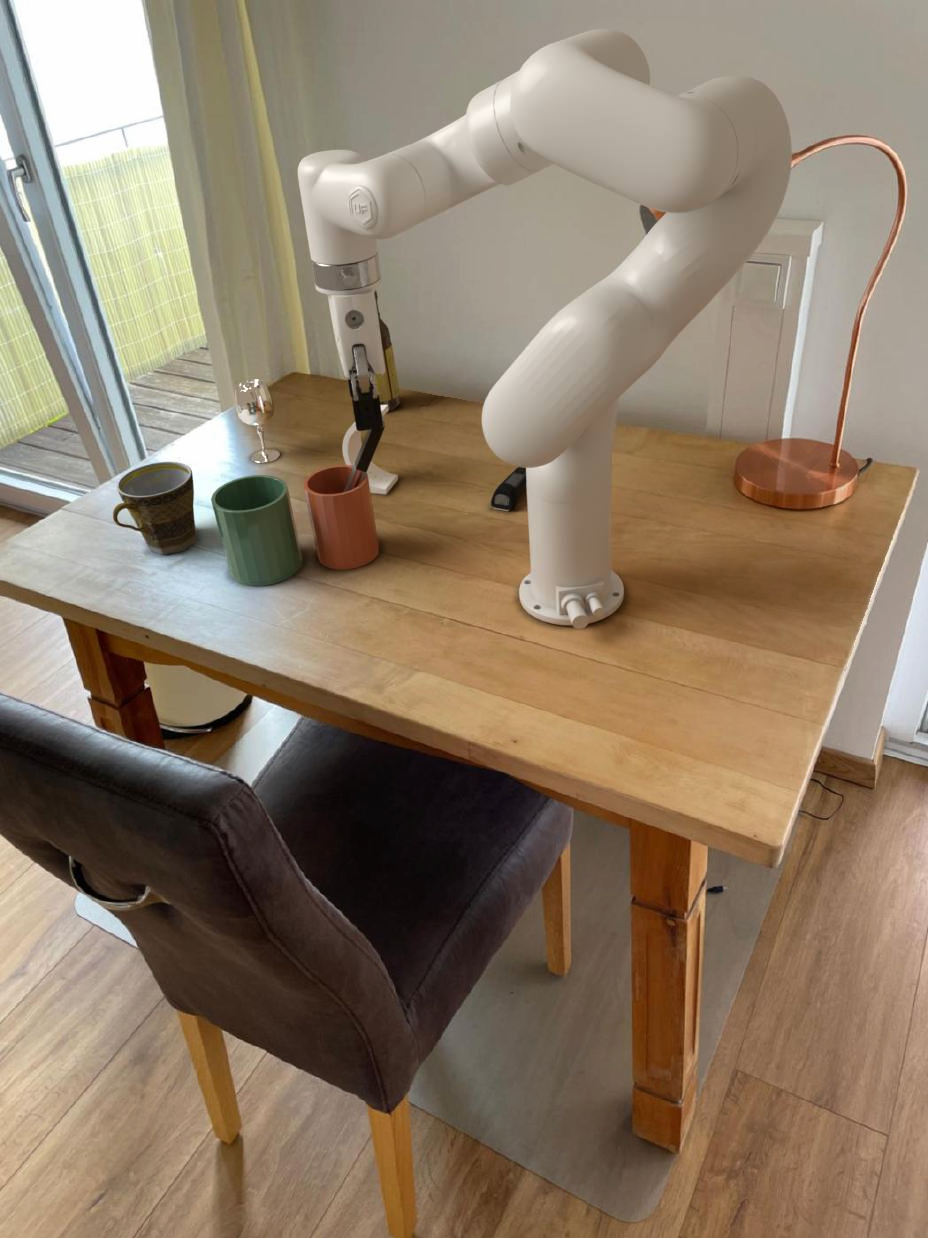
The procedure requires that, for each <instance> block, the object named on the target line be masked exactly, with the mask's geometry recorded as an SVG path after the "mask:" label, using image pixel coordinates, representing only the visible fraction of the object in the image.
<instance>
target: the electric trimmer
mask: <svg viewBox="0 0 928 1238" xmlns="http://www.w3.org/2000/svg"><path fill="white" fill-rule="evenodd" d="M526 484H527V480H526V468H522V467H516V468H515V469H514V470H513V471H512V472H511V473H510V474H509V475H508V476H507V477H506V478H505V479H504V480H503V481H502V482H501V483H500V484H499V485H498V486H497V487H496V489H495V490H494V492H493V494H492V497H491V499H490V505H491V507H492V508H493V509H494V510H499V511H504V512H509V511H510V510H514V509H515V508H516V506H517V503H518V498H519V497H520V495H521V494H522V493H523V492H524V490H525V489H527V486H526Z"/></svg>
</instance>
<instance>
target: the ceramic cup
mask: <svg viewBox="0 0 928 1238" xmlns="http://www.w3.org/2000/svg"><path fill="white" fill-rule="evenodd" d="M116 489H117V492H118V495H119V496H120V499H121V501H122V502H121V503H118V504H117V505H116V506H114V508H113V511H112V519H113V523H115V524H116V525H117V526H119V527H121V528H126V529H131V530H133V531H136V532H140V533H141V535H142V537H143V540H144V541H145V544H146V545H147V547H148V549H149V551H150V552H151V553H154V554H159V555H161V556H166V555H170V554H175V553H180V552H181V553H182V552H183V551H186V549H188V548H189V547H191V546H192V545H193V544H195V543H196V541H197V533H196V532H197V531H196V521H195V512H194V511H195V508H194V501H195V500H194V499H195V486H194V475H193V470H192V468H191V467H190V466H189V465H187V464H185V463H182V462H177V461H160V462H158V461H157V462H153V463H148V464H145V465H142V466H139V467H136V468H134V469H132V470H130V471H128V472H126V473H125V474H124V475H123V476H122V477H120V479H119V480H118V481H117V484H116ZM125 509H127V511H128V513H129V515H130V517H131V518H132V520H133V521H134V523H135V525H136V526H134V525H132V524H125V523H122V522H120V521H119V519H118V517H119V516H118V515H119V514H120V512H121V511H122V510H125Z"/></svg>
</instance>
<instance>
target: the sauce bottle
mask: <svg viewBox="0 0 928 1238" xmlns="http://www.w3.org/2000/svg"><path fill="white" fill-rule="evenodd" d="M373 290H374V295H375V300H376V306H377V312H378V319H379V327H380V334H381V342H382V350H383V357H384V364H385V373H384V374H383V375H381V374H376V373H375V372H374V377H375V383H376V390H377V395H379V398H380V405H388V409H389V410H388V412H390V411H393V410H395V409H396V408H397V407H398V406H399V405H400V404H401V397H400V387H399V381H398V375H397V368H396V361H395V355H394V349H393V343H392V341H391V335H390V334H391V333H390V329H389V328H388V326H387V324H386V323H385V322H384V321H383V320H382V319H381V313H380V310H379V305H378V304H379V303H378V299H379V298H378V297H379V296H378V292H377V289H376V288H374V289H373ZM373 371H374V370H373Z"/></svg>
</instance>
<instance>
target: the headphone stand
mask: <svg viewBox="0 0 928 1238" xmlns="http://www.w3.org/2000/svg"><path fill="white" fill-rule="evenodd" d="M388 410H389V409H388V405H381V413H382V415H383V416H384V417H385V415H386V414H387V413H388V412H389V411H388ZM361 434H362V431H358V430H357V429H356V424H355V422H354V423H352V425H351V426H349V428H348V429H347V430H346V431H345V434H344V437H343V439H342V449H341V450H342V456H343V460H344V463H345V465H351V466H354V464H355V461H356V458H357V456H358V453H359V451H360V448H361V446H362V443H363V442H362V435H361ZM367 474H368V480H369V486H370V493H371V494H379V495H387V494H388V493H389V492H390V491H391V489H392V488H393V487H394V486H395V484H396V483H398V482H397V481H398V480H399V476H398V474H396V473H391V472H388V471H387V470H384V469H382V468H380V467H379V466H378V465H376V464H375V462H373V461H372V460H371V463H370V465H369V467H368V470H367Z"/></svg>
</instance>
